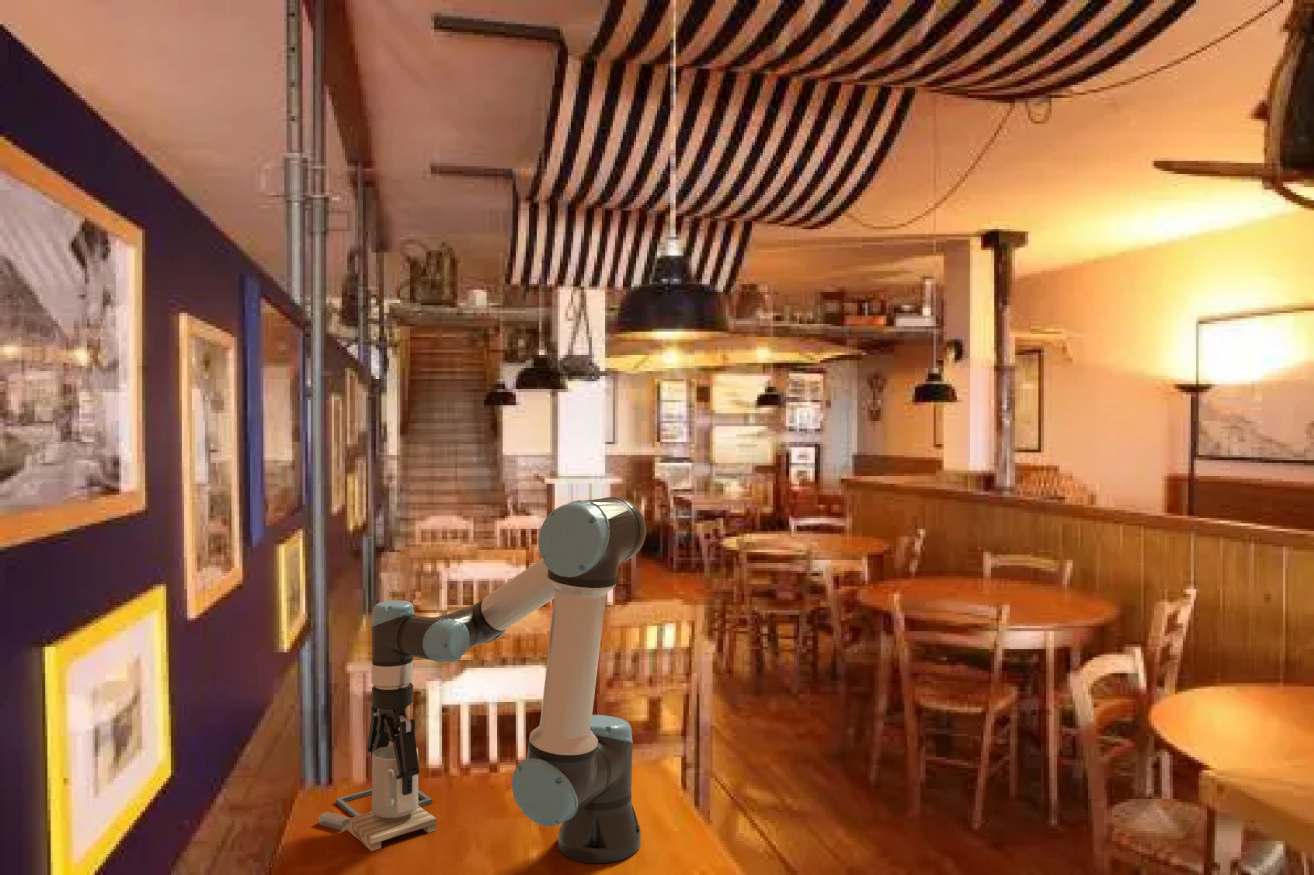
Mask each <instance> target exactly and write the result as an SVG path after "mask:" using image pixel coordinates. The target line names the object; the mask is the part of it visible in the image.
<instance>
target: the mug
mask: <svg viewBox="0 0 1314 875" xmlns="http://www.w3.org/2000/svg"><path fill="white" fill-rule="evenodd" d="M416 749H417V757H418V758H419V748H418V747H417V746H416ZM371 764H372V765H371V776H372V777H371V780H372V781H371V789H372V794H371V812H373V814H374V815H376V816H378V817H383V818H396V817H401V816H405V815H408V814H410V813H412V812H414V811H415V810H416V809H417V807H418V801H419V797H418V790H419V774H417V775H414V776H413V797H412V809H411V810H407V811H404V812H400V813H398V812H397V778H396V776H398V775H399V770H398V765H397V761H396V756H395V751H394V747H393V743H392V744H388V747H381V748H378V749H376V750H375V751H374V752H373V754H372V757H371Z"/></svg>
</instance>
